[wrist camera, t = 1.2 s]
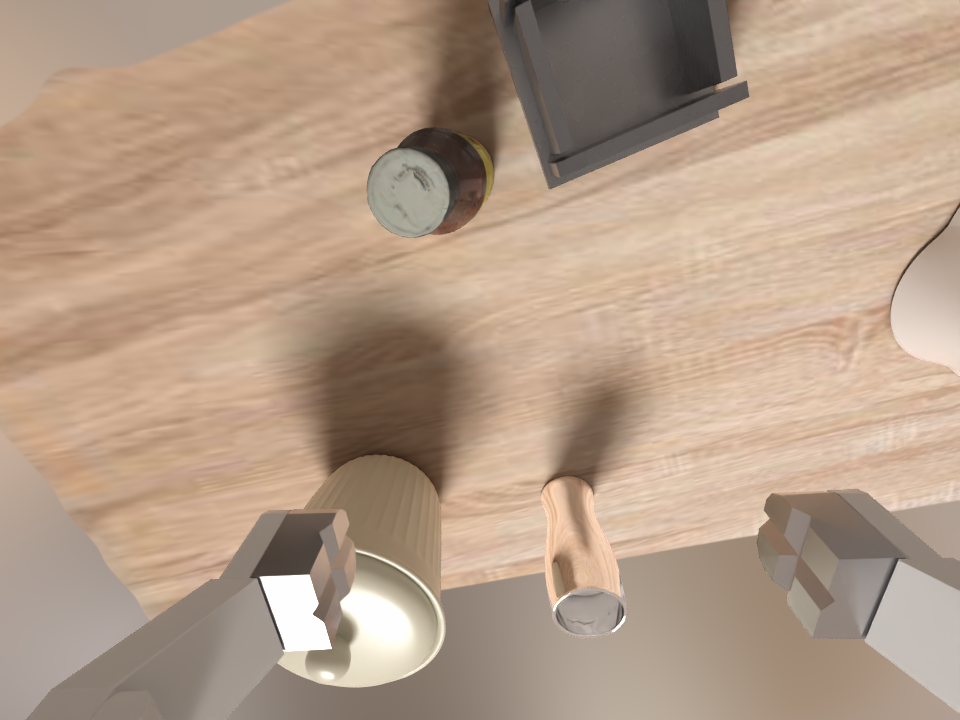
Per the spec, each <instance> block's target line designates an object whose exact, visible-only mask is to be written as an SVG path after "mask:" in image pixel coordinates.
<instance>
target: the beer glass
mask: <svg viewBox="0 0 960 720" xmlns="http://www.w3.org/2000/svg"><path fill="white" fill-rule="evenodd" d="M541 502H542V505H543V508H544V511H545V513H546V516H547V537H546V547H545V576H546V583H547V590H548V595H549V600H550V605H551V610H552V618H553V621H554V623H555V624H556V626H557V627H558V628H559V629H560V630H562V631H563V632H564V633H566V634H568V635H571V636H574V637H578V638H587V639H588V638H589V639H591V638H599V637H604V636H607V635H609V634H611V633H613V632H615V631H616V630H618V629H619V628H620V627H621V626H622V625H623V624H624V622H625V621H626V618H627V615H628V609H627V606H626V601H625V596H624V590H623V585H622V580H621V576H620V573H619V568H618V565H617V562H616V559H615V556H614V553H613V551H612V549H611V546H610V544H609V542H608V540H607V538H606V536H605V534H604V532H603V530H602V529H601V527H600V525H599V523H598V521H597V519H596V516H595V513H594V497H593V491H592V489H591V487H590V486H589V484H588V483H587V482H585V481H584V480H582V479H580V478H577V477H573V476H563V477H559V478H556V479H554V480H552V481H550V482H549V483H548V484H547V485H546V486H545V487H544V489H543V491H542V494H541Z"/></svg>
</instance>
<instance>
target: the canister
mask: <svg viewBox="0 0 960 720" xmlns="http://www.w3.org/2000/svg"><path fill="white" fill-rule="evenodd" d="M304 509H342V510H344V511H346V514H347V517H348V521H349V527H348V529H347V532H346V535H347V536H348V537H349V538H350V539H351V540H352V541H354V546H355V550H356V569H355V577H354V581H353V584H352V588H351V591H350V593H349V594H348V595H347V596H346V597H345V598H343V599H342V600H341V601H340V604H341V608H342V612H343V615H342V618H341V621H340V624H339V627H338V630H337V633H336V636H335V639H334V642H333V645H332V648H331V649H315V650H296V651H284V655H283V656H282V658H281V659H280V660H279V661H278V662H277V663H278V664H280V665H281V666H283V667H284V668H286V669H288V670H289V671H291V672H293V673H295V674H297V675H300V676H302V677H305V678H307V679H310V680H313V681H315V682H318V683H320V684H328V685H334V686H342V687H367V686H375V685H380V684H384V683H387V682H391V681H395V680H398V679H402V678H405V677H407V676H409V675H411V674H413V673H415V672H417V671H419V670H420V669H422V668H423V667H425V666H426V665H427V664H428V663H429V662H430V661H431V660H432V659H433V658H434V657H435V656H436V655H437V653H438V652H439V650H440V648H441V646H442V644H443V641H444V637H445V631H446V618H445V613H444V610H443V607H442V604H441V602H440V591H441V507H440V502H439V498H438V494H437V492H436V490H435V487H434V485H433V484H432V483H431V482H430V479H429V478H428V477H427V476H425V474H424V472H423V471H421V470H419V469H418V468H417V466H414V465H412V464H411V463H410V462H407V461H404V460H403V459H401V458H396V457H394V456H387V455H377V454H375V455H366V456H364V457H358V458H356V459H354V460H350V461H348V462H347V463H346V464H344V465H342V466H340V467H339V468H338V469H337V470H336V471H335V472H333V473H332V474H331V475H330V476H329V477H328V479H327V480H326V481H325V482H324V483H323V485H322V486H321V487H320V488H319V490H318V491H317V492H316V493H315V495H314V496H313V497H312V498H311V500H310V501H309V502H308V504H307V505H306V506H305V508H304Z"/></svg>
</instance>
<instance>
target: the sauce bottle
mask: <svg viewBox="0 0 960 720" xmlns="http://www.w3.org/2000/svg"><path fill="white" fill-rule="evenodd" d="M493 182H494V168H493V163H492V160H491V158H490V156H489V154H488V152H487V151H486V149H485V148H484V147H483V146H482V144H480V143H479V142H478V141H477V140H475V139H474V138H472V137H469V136H467V135H463V134H461V133H458V132H454V131H452V130H448V129H443V128H424V129H421V130H418V131H415V132H413V133H412V134H410V135H409V136H407V137H406V138H405V139H404V140H403V141H402V142H401V143H400V145H399V146H398V148H395V149H392V150H389V151H388V152H386V153H385V154H384V155H382V156H381V157H380V158H379V159H378V160H377V161H376V163H375V164H374V165H373V166H372V168H371V170H370V173H369V177H368V182H367V195H368V204H369V206H370V209H371V211H372V213H373V215H374V216H375V217H376V219H377V220H378V221H379V223H380V224H381V225H382V226H383V227H385V228H386V229H387V230H388V231H390V232H391V233H394V234H397V235H399V236H402V237H408V238H416V237H421V236H424V235H427V234H433V235H442V234H447V233H451V232H454V231H456V230H457V229H460V228H461V227H462V226H464V225H465V224H466V223H468V222H469V221H470V220H471V219H472V218H473V217H474V216H475V215H476V214H477V213H478V211H479V210H480V208H481V207H482V206H483V204H484V203H485V202H486V200H487V199H488V197H489V195H490V192H491V190H492V187H493Z"/></svg>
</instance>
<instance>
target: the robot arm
mask: <svg viewBox="0 0 960 720" xmlns="http://www.w3.org/2000/svg"><path fill="white" fill-rule="evenodd" d="M891 327H892V331H893V334H894V336H895V338H896V340H897V342H898V343H899V345H900V346H901V347H902V348H903V349H904V350H905V351H906V352H907V353H909V354H910V355H912V356H914V357H916V358H918V359H920V360H923V361H927V362H931V363H936V364H939V365H943V366H947V367H948V368H950V369H951V370H952V371H953V372H954V373H955V374H957V375H958V376H960V207H959V209H958V210H957V212H956V213H955V215H954V217H953V218H952V220H951V222H950V224H949V225H948V227H947V228H946V229H945V230H944V231H943V232H942V233H941V234H940V235H939V236H938V237H937V238H936V239H935V240H934V241H933V242H931V243H930V244H929V245H928V246H927V247H926V248H925V249H924V250H923V251H922V252H921V253H920V254H919V255H918V256H917V257H916V259H915V260H914V261H913V262H912V264H911V265H910V266H909V268H908V269H907V271H906V272H905V274H904V275H903V277H902V279H901V281H900V283H899V285H898V287H897V289H896V292H895V295H894V298H893V301H892V306H891ZM764 511H765V512H766V514H767V515H768V517H769V518H770V519H769V520H768V521H767V522H766V523H765V524H764V525H762V526H761V527H760V528H759V533H758V539H757V546H758V552H759V558H760V560H761V562H762V565H763V567H764V569H765V570H766V572H767V573H768V575H769V577H770V578H771V580H772V581H773V582H775V583H776V584H778V585H779V586H781V587H783V588H784V589H786V590H787V591H788V600H787V603H788V605H789V606H790V608H791V609H792V611H793V612H794V613H795V615H796V616H797V618H798V619H799V621H800V622H801V624H802V625H803V626H804V628H805V629H806V631H807V632H808V634H809V635H810V637H811V638H829V639H833V638H836V639H837V638H838V639H865V642H866V643H867V644H869V645H870V646H871V647H872V648H874V649H875V650H877V651H878V652H879V653H880V654H882V655H883V656H885V657H886V658H887V659H889V660H890V661H891V662H892V663H894V664H895V665H896V666H898V667H899V668H900V669H902V670H903V671H904V672H905V673H907V674H908V675H909V676H911V677H912V678H913V679H915V680H916V681H917V682H919V683H920V684H921V685H923V686H924V687H925V688H927V689H928V690H929V691H931V692H932V693H933V694H934V695H936V696H937V697H939V698H940V699H941V700H943V701H944V702H945V703H946V704H948V705H949V706H950V707H952V708H953V709H954V710H956V711H957V712H958V713H960V561H958V560H956V559H954V558H942V557H941V556H940V555H938V554H937V553H936V552H935V551H934V550H933V549H932V548H930V547H929V546H928V545H927V544H926V543H925V542H923V541H922V540H921V539H920V538H919V537H918V536H916V535H915V534H914V533H913V532H912V531H911V530H909V529H908V528H907V527H906V526H905V525H904V524H902V523H901V522H900V521H899V520H898V519H897V518H895V517H894V516H893V515H892V514H891V513H890V512H889V511H887V510H886V509H885V508H884V507H883V506H882V505H880V504H879V503H878V502H877V501H876V500H875V499H873V498H872V497H871V496H870V495H869V494H868V493H866V492H863V491H861V490H859V489H845V490H828V491H814V492H791V493H772V494H771V495H770V496H769V497H768V498H767V500H766V504H765V507H764ZM348 527H349V521H348V517H347V514H346V511H344V510H342V509H293V510H268V511H267V512H265V513H263V514H262V515H261V516H260V518H259V519H258V521H257V522H256V524H255V525H254V527H253V528H252V530H251V531H250V533H249V534H248V536H247V537H246V539H245V540H244V542H243V543H242V545H241V546H240V548H239V549H238V551H237V552H236V554H235V555H234V557H233V558H232V560H231V561H230V563H229V564H228V566H227V567H226V569H225V570H224V572H223V573H222V575H221V576H220V578H219V579H211V580H209V581H208V582H206V583H205V584H203V585H202V586H200V587H199V588H197V589H196V590H195V591H193V592H192V593H190V594H189V595H187V596H186V597H184V598H183V599H182V600H180V601H179V602H177V603H176V604H174V605H173V606H171V607H170V608H169V609H167V610H166V611H164V612H163V613H161V614H160V615H158V616H157V617H155V618H154V619H153V620H151V621H150V622H148V623H147V624H145V625H144V626H142V627H141V628H140V629H138V630H137V631H136V632H134V633H133V634H131V635H130V636H128V637H127V638H125V639H124V640H122V641H121V642H119V643H118V644H116V645H115V646H114V647H112V648H111V649H109V650H108V651H106V652H105V653H103V654H102V655H100V656H99V657H98V658H96V659H95V660H93V661H92V662H90V663H89V664H87V665H86V666H85V667H83V668H82V669H80V670H79V671H77V672H76V673H74V674H73V675H72V676H70V677H69V678H67V679H66V680H64V681H63V682H62V683H60V684H59V685H57V686H56V687H54V688H53V689H51V691H50V692H49V693H48V694H47V695H46V696H45V698H44V699H43V700H42V701H41V702H40V704H39V705H38V706H37V707H36V708H35V710H34V711H33V712H32V713H31V714H30V715H29V717H28V718H27V719H26V720H225V719H226V718H227V717H228V716H229V715H230V714H231V713H232V712H233V710H234V709H235V708H236V707H237V706H238V705H239V704H240V703H241V702H242V700H243V699H244V698H245V697H246V696H247V695H248V694H249V693H250V692H251V691H252V689H253V688H254V687H255V686H256V685H257V684H258V683H259V682H260V681H261V679H262V678H263V677H264V676H265V675H266V674H267V673H268V672H269V671H270V669H271V668H272V667H273V666H274V665H275V664H276V663H277V662H278V661H279V660H280V659H281V658H282V656H283V655H284V651H296V650H315V649H331V648H332V645H333V642H334V639H335V636H336V633H337V630H338V627H339V624H340V621H341V618H342V615H343V612H342V608H341V604H340V601H341V600H342V599H343V598H345V597H346V596H347V595H348V594H349V593H350V591H351V588H352V584H353V581H354V577H355V569H356V550H355V546H354V541H352V540H351V539H350V538H349V537H348V536H347V535H346V532H347V529H348Z"/></svg>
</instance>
